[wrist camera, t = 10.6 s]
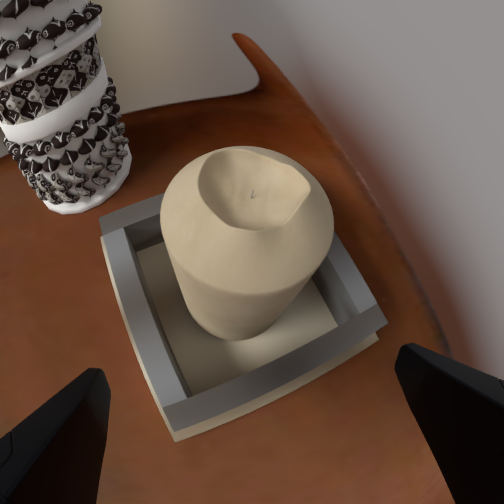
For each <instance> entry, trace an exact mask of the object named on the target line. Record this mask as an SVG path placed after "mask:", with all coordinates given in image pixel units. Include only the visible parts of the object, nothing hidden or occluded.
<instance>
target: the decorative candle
mask: <svg viewBox="0 0 504 504" xmlns="http://www.w3.org/2000/svg"><path fill="white" fill-rule="evenodd" d="M101 12H102V7H101V6H100V5H97V4H92V3H91V2H90V4H89V3H88V2H87V0H0V127H1V128H2V130H3V132H4V134H5V138H4V140H3V142H4V145H5V146H7V147H8V152H9V154H10V155H13V159H14V160H15V161H18V167H19V169H20V170H22V173H23V175H24V177H25V178H26V179H27V180H28V183H29V185H30V186H31V187H32V188H33V189H34V190H35V191H36V193H37V196H38V198H39V199H41V200H43V201H44V203H45V204H46V206H47V207H48V208H49V209H50V210H53V211H55V212H58V213H60V214H63V215H64V214H77V213H83V212H85V211H87V210H89V209H92V208H94V207H96V206H99V205H101V204H102V203H103V202H105V201H106V200H107V199H108V198H109V197H111V196H112V195H113V194H114V193H115V192H117V191H118V190H119V188H120V186H121V185H122V183H123V182H124V180H125V179H126V177H127V176H128V174H129V171H130V166H131V161H132V156H131V153H130V150H129V147H128V142H129V139H128V138H124V137H123V135H121V134H123V133H124V132H125V129H124V128H125V124H124V123H121V122H118V120H119V119H120V118H121V114H120V113H118V112H119V110H120V106H119V104H118V103H117V102H116V96H115V93H116V88H115V86H114V85H112V84H113V80H112V79H111V78H110V77H107V74H106V69H105V65H104V61H103V58H102V57H100V55H99V49H98V44H97V39H96V34H95V33H96V31H97V30H98V29H99V28H100V27H101V24H102V23H101V19H100V15H99V14H100V13H101Z"/></svg>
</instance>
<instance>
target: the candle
mask: <svg viewBox="0 0 504 504" xmlns="http://www.w3.org/2000/svg"><path fill="white" fill-rule="evenodd" d="M160 224H161V230H162V235H163V238H164V241H165V244H166V247H167V250H168V253H169V256H170V260H171V263H172V266H173V268H174V271H175V274H176V277H177V280H178V283H179V286H180V289H181V292H182V294H183V297H184V300H185V303H186V305H187V308H188V310H189V312H190V314H191V316H192V318H193V319H194V320H195V322H196V323H197V324H198V325H199V326H200V327H201V328H202V329H203V330H205V331H206V332H207V333H209V334H211V335H213V336H215V337H217V338H220V339H224V340H230V341H240V340H247V339H251V338H253V337H256V336H258V335H260V334H262V333H263V332H265V331H266V330H267V329H269V328H270V327H271V325H272V324H273V323H274V322H275V321H276V320H277V319H278V318H279V317H280V315H281V314H282V313H283V312H284V310H285V309H286V308H287V307H288V305H289V304H290V303H291V302H292V301H293V299H294V298H295V297H296V296H297V294H298V293H299V292H300V290H301V289H302V288H303V287H304V285H305V284H306V283H307V282H308V280H309V279H310V278H311V276H312V275H313V274H314V273H315V271H316V270H317V269H318V267H319V266H320V265H321V263H322V262H323V260H324V259H325V257H326V255H327V253H328V251H329V249H330V246H331V243H332V239H333V233H334V217H333V212H332V208H331V205H330V202H329V199H328V197H327V195H326V193H325V191H324V190H323V188H322V187H321V185H320V184H319V182H318V181H317V180H316V179H315V178H314V176H313V175H311V174H310V173H309V172H308V171H307V170H306V169H305V168H304V167H302V166H301V165H300V164H298V163H297V162H296V161H294V160H292V159H291V158H289V157H287V156H285V155H283V154H281V153H278V152H275V151H272V150H269V149H265V148H260V147H253V146H234V147H227V148H222V149H218V150H215V151H212V152H210V153H207V154H204V155H202V156H200V157H198V158H196V159H195V160H193V161H192V162H190V163H189V164H187V165H186V166H185V167H184V168H183V169H181V170H180V171H179V173H178V174H177V175H176V176H175V177H174V178H173V180H172V181H171V183H170V184H169V186H168V188H167V190H166V192H165V194H164V197H163V200H162V204H161V211H160Z"/></svg>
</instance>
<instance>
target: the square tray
mask: <svg viewBox="0 0 504 504" xmlns="http://www.w3.org/2000/svg"><path fill="white" fill-rule="evenodd" d="M164 194H165V193H162V194H159V195H156V196H154V197H151V198H148V199H146V200H143V201H140V202H137V203H135V204H132V205H130V206H127V207H124V208H122V209H119V210H117V211H114V212H112V213H109V214H107V215H104V216H102V217H99V221H100V226H101V230H102V235H103V236H102V237H100V239H101V243H102V247H103V251H104V255H105V259H106V263H107V267H108V270H109V274H110V278H111V281H112V285H113V288H114V291H115V295H116V298H117V301H118V304H119V308H120V311H121V314H122V317H123V320H124V323H125V326H126V329H127V332H128V334H129V337H130V340H131V343H132V345H133V348H134V351H135V353H136V356H137V359H138V361H139V364H140V366H141V369H142V371H143V374H144V376H145V379H146V381H147V383H148V386H149V388H150V390H151V393H152V395H153V397H154V400H155V402H156V404H157V406H158V408H159V410H160V413H161V415H162V417H163V419H164V421H165V423H166V425H167V427H168V429H169V431H170V433H171V435H172V437H173V439H174V441H175V442H178V441H180V440H183V439H186V438H189V437H191V436H194V435H197V434H199V433H202V432H205V431H207V430H210V429H212V428H215V427H217V426H219V425H222V424H224V423H227V422H229V421H231V420H234V419H236V418H238V417H240V416H243V415H245V414H247V413H249V412H251V411H254V410H256V409H258V408H260V407H262V406H264V405H266V404H268V403H270V402H272V401H274V400H276V399H278V398H280V397H282V396H284V395H286V394H288V393H290V392H292V391H294V390H296V389H298V388H300V387H301V386H303V385H305V384H307V383H309V382H311V381H312V380H314V379H316V378H318V377H320V376H321V375H323V374H325V373H326V372H328V371H330V370H332V369H333V368H335V367H337V366H338V365H340V364H342V363H343V362H345V361H347V360H348V359H350V358H351V357H353V356H355V355H356V354H358V353H359V352H361V351H362V350H364V349H366V348H367V347H369V346H370V345H372V344H373V343H375V342H376V341H378V340H379V338H378V337H377V335H376V333H375V332H376V331H377V330H379V329H380V328H382V327H383V326H385V325H386V324H388V322H387V320H386V318H385V316H384V314H383V312H382V311H381V309H380V307H379V305H378V303H377V302H376V300H375V298H374V296H373V294H372V293H371V291H370V289H369V287H368V286H367V284H366V282H365V281H364V279H363V277H362V275H361V274H360V272H359V270H358V269H357V267H356V265H355V264H354V262H353V260H352V259H351V257H350V255H349V254H348V252H347V250H346V249H345V247H344V246H343V244H342V242H341V241H340V239H339V238H338V236H337V234H336V233H335V231H334V233H333V239H332V243H331V246H330V249H329V251H328V253H327V255H326V257H325V259H324V260H323V262H322V263H321V265H320V266H319V267H318V269H317V270H316V271H315V273H314V274H313V275H312V276H311V278H310V279H309V280H308V282H307V283H306V284H305V285H304V287H303V288H302V289H301V290H300V292H299V293H298V294H297V296H296V297H295V298H294V299H293V301H292V302H291V303H290V304H289V305H288V307H287V308H286V309H285V310H284V312H283V313H282V314H281V315H280V317H279V318H278V319H277V320H276V321H275V322H274V323H273V324H272V325H271V327H270V328H269V329H267V330H266V331H265V332H263V333H262V334H260V335H258V336H256V337H253V338H251V339H247V340H240V341H230V340H224V339H220V338H217V337H215V336H213V335H211V334H209V333H207V332H206V331H205V330H203V329H202V328H201V327H200V326H199V325H198V324H197V323H196V322H195V320H194V319H193V318H192V316H191V314H190V312H189V310H188V308H187V305H186V303H185V300H184V297H183V294H182V292H181V289H180V286H179V283H178V280H177V277H176V274H175V271H174V268H173V266H172V263H171V260H170V256H169V253H168V250H167V247H166V244H165V241H164V238H163V235H162V230H161V224H160V211H161V204H162V200H163V197H164Z"/></svg>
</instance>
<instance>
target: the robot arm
mask: <svg viewBox="0 0 504 504" xmlns="http://www.w3.org/2000/svg"><path fill="white" fill-rule="evenodd" d="M395 372H396V375H397V377H398V380H399V382H400V385H401V387H402V390H403V392H404V395H405V397H406V400H407V402H408V405H409V407H410V409H411V411H412V413H413V415H414V417H415V419H416V421H417V423H418V425H419V427H420V429H421V431H422V433H423V435H424V437H425V439H426V441H427V443H428V445H429V447H430V449H431V451H432V453H433V455H434V457H435V459H436V462H437V464H438V466H439V468H440V470H441V472H442V474H443V477H444V479H445V481H446V483H447V485H448V488H449V490H450V492H451V494H452V497H453V499H454V501H455V504H504V380H501V379H498V378H496V377H494V376H491V375H489V374H486V373H484V372H481V371H479V370H476V369H474V368H472V367H469V366H467V365H464V364H462V363H460V362H457V361H455V360H452V359H450V358H448V357H445V356H443V355H440V354H438V353H436V352H433V351H431V350H429V349H426V348H424V347H422V346H419V345H417V344H415V343H409V344H405V345H403V346H402V347H401V348H400V350H399V354H398V357H397V360H396V363H395ZM110 399H111V391H110V387H109V385H108V382H107V379H106V376H105V373H104V371H103V370H102V369H100V368H88V369H87V370H86V371H84V372H83V373H82V374H80V375H79V376H78V377H77V378H75V379H74V380H73V381H72V382H70V383H69V384H68V385H67V386H65V387H64V388H63V389H62V390H60V391H59V392H58V393H57V394H55V395H54V396H53V397H52V398H50V399H49V400H48V401H47V402H45V403H44V404H43V405H42V406H40V407H39V408H38V409H37V410H35V411H34V412H33V413H32V414H31V415H29V416H28V417H27V418H26V419H24V420H23V421H22V422H21V423H19V424H18V425H17V426H16V427H14V428H13V429H12V430H11V432H10V431H9V432H8V433H7V434H6V435H4V436H3V437H2V438H1V439H0V504H96V500H97V493H98V486H99V480H100V474H101V468H102V462H103V457H104V451H105V446H106V440H107V431H108V419H109V409H110Z"/></svg>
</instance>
